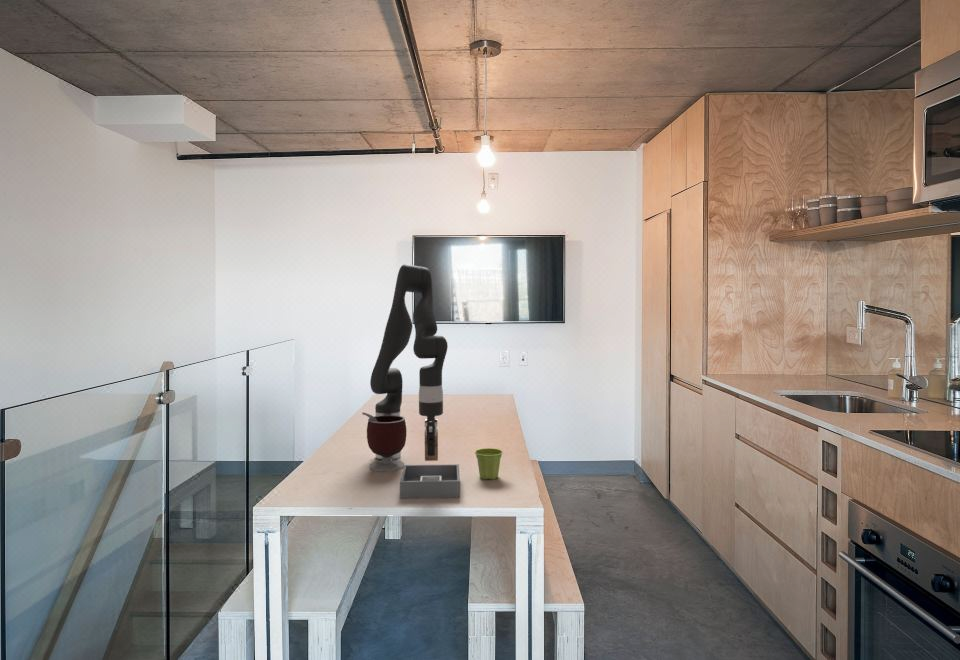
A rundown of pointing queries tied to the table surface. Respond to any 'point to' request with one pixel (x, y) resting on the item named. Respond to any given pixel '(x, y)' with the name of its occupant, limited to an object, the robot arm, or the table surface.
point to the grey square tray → (430, 481)
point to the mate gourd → (386, 440)
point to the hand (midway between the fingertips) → (431, 453)
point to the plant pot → (488, 462)
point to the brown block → (435, 457)
